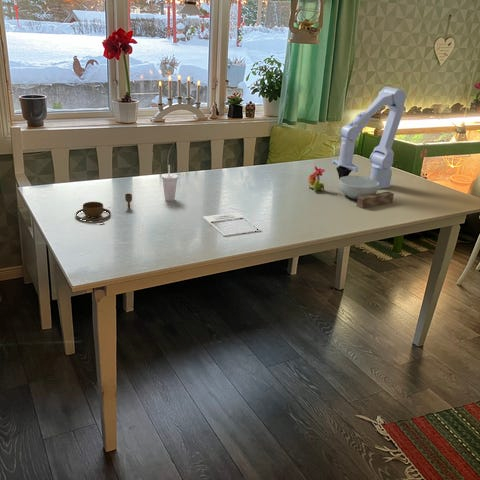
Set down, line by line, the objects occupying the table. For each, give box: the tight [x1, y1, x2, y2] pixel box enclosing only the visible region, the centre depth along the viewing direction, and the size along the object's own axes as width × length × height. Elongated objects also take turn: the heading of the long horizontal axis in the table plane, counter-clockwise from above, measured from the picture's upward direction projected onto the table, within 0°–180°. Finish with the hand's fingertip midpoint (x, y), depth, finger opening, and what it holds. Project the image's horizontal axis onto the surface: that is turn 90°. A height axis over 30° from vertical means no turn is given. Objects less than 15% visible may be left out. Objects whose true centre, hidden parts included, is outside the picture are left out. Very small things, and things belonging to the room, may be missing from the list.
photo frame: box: [202, 211, 263, 237], centre depth 180 cm, size 15×1×18 cm
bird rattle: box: [307, 166, 326, 193], centre depth 222 cm, size 6×11×9 cm
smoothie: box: [161, 164, 179, 202], centre depth 197 cm, size 6×6×14 cm
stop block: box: [356, 191, 395, 209], centre depth 210 cm, size 18×3×4 cm, turn 122°
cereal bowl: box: [338, 175, 379, 200], centre depth 217 cm, size 17×17×7 cm
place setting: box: [75, 193, 133, 221], centre depth 179 cm, size 18×20×6 cm
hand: (342, 183), depth 225 cm, fingers closed
